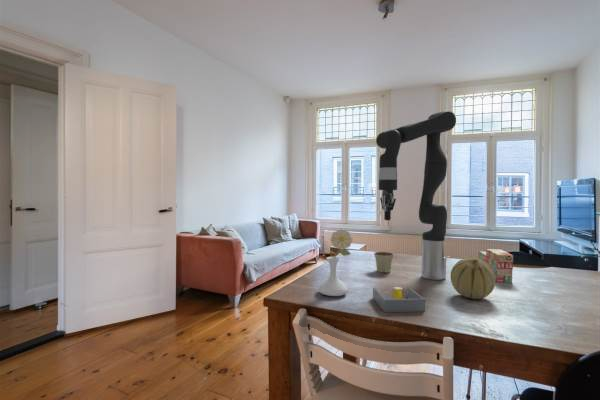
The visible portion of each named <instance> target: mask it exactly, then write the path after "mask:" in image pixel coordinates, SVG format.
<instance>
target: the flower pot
mask: <svg viewBox="0 0 600 400" xmlns="http://www.w3.org/2000/svg"><path fill="white" fill-rule="evenodd" d="M373 255H374V257H375V263H376V270H377V272H378V273H385V274H388V273H390V272H391V269H392V262H393V259H394V255H395V254H394V253H393V252H389V251H387V252H386V251H376V252H374V253H373Z"/></svg>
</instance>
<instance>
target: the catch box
mask: <svg viewBox="0 0 600 400" xmlns="http://www.w3.org/2000/svg"><path fill="white" fill-rule="evenodd" d="M406 291H407V292H406V298H403V299H394V298H386V297H385V296H384V295H383V294H382V293H381V292H380V290H378V288H377V287H376V286H375V287H372V299H373V300H374V301H375V303H377V305H378V306H379V308H380V310H382V311H383V313H400V312H401V313H403V312H404V313H405V312H407V313H408V312H409V313H411V312H412V313H413V312H417V313H418V312H426V299H425V298H424V297H423V296H422V295H420V294H419V293H418V292H417V291H415V290H414V289H413V288H411V287H410V286H407V288H406Z"/></svg>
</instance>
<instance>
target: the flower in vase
mask: <svg viewBox="0 0 600 400" xmlns="http://www.w3.org/2000/svg"><path fill="white" fill-rule="evenodd" d="M330 242H331V244H332V247H333V248H336V249H338V251H337V252H336V253H335V252H333V251H332V250H329V249H328V248H327V249H326V251H328V252H329V253H331V254H333V255H334V256H328V257H327V256H326V259H327V261H328V263H329V270H330V271H329V276H328V278H327V279H326V280H324V281H323V282H321V284H319V286H318V289H317V290H318V292H319V293H320V294H321V295H325V296H329V297H340V296H343V295H344V296H345V295H346V294H347V293H348V292H349V289H348V287H347V285H346V284H345V283H343V281H342V280H340V279H339V278H338V276H337V266H338V262H339V260H340V259H341V258H340V257H339V256H337V255H338V254H340V255H342V256H345V257H346V256H349V255H351V252H350V251H349V250H347V248H350V247H351V245H352V242H353V237H352V234H350V232H349V230H348V231H347V230H345V229H342V228H340V229H336V231H333V232H332V234H331V237H330Z"/></svg>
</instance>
